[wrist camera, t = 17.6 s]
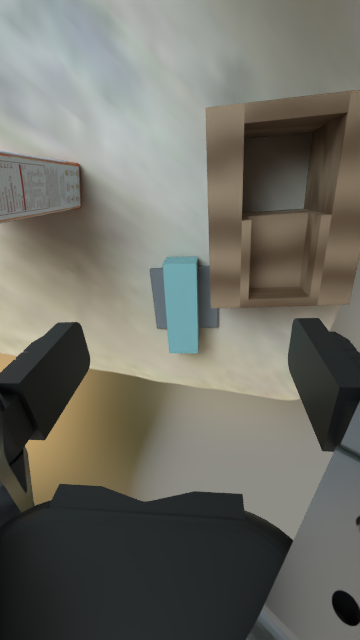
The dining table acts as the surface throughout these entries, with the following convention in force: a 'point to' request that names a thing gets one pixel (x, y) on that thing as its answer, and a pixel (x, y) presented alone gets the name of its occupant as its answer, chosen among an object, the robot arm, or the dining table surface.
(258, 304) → the board
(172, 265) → the teal block
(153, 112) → the dining table surface
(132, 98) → the dining table surface
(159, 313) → the grey mat
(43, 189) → the cracker box
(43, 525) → the robot arm
